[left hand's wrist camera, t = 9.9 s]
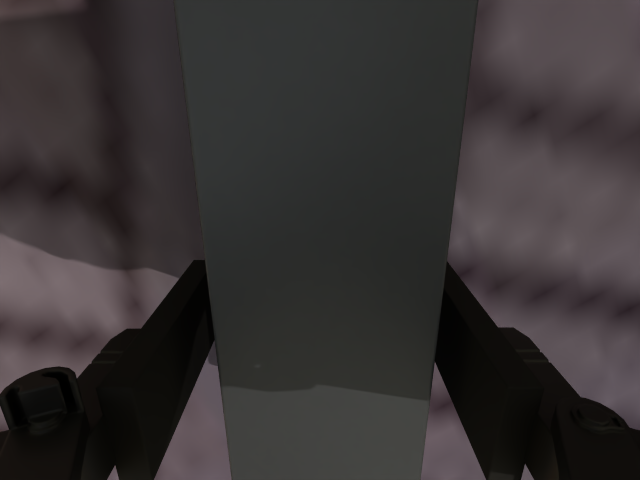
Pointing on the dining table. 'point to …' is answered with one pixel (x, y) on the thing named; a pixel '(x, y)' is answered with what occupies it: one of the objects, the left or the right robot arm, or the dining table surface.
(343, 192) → the bar
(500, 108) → the dining table surface
